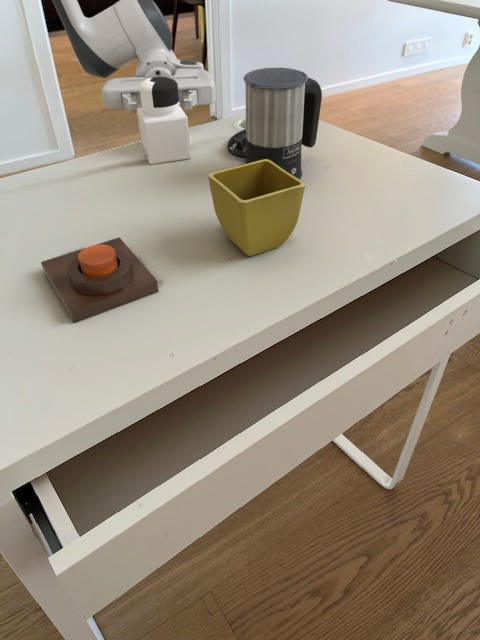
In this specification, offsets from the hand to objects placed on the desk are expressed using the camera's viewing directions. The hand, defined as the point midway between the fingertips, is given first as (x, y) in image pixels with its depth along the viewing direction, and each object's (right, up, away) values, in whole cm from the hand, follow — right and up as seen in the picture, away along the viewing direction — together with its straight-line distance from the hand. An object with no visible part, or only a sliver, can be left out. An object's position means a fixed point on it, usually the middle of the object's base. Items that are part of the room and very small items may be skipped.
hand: (160, 106), depth 87 cm
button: (-2, -31, -30) cm, 43 cm away
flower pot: (+16, -27, -21) cm, 37 cm away
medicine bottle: (+1, -8, +1) cm, 8 cm away
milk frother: (+17, -11, -3) cm, 21 cm away
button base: (-3, -32, -27) cm, 42 cm away
